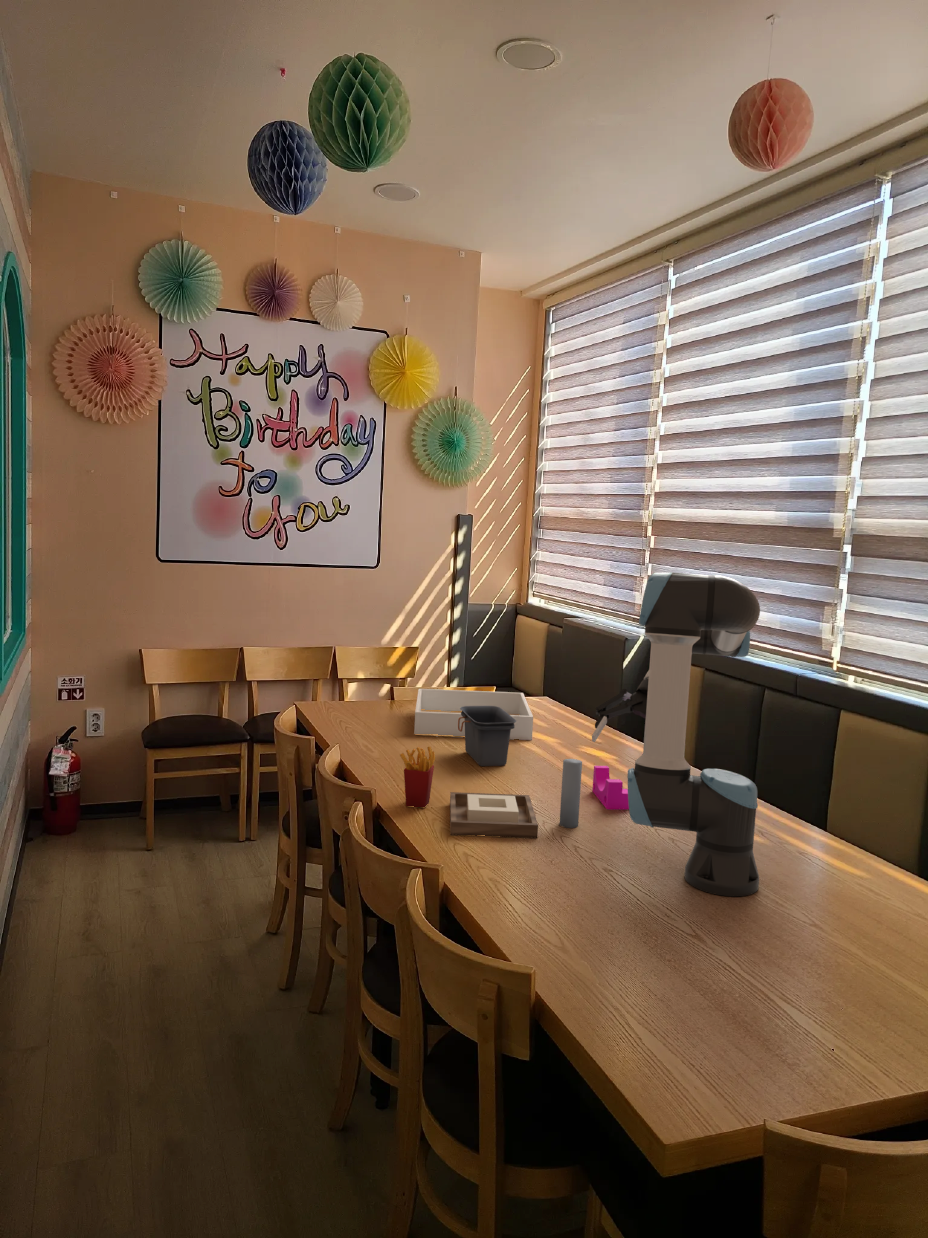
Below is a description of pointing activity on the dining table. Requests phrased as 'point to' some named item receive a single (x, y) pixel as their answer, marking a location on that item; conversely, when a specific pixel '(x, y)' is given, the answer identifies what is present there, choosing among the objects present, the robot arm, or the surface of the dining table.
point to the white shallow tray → (460, 698)
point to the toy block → (609, 789)
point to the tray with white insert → (462, 826)
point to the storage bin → (487, 734)
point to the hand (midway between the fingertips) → (617, 750)
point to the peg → (570, 793)
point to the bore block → (492, 808)
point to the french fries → (418, 777)
